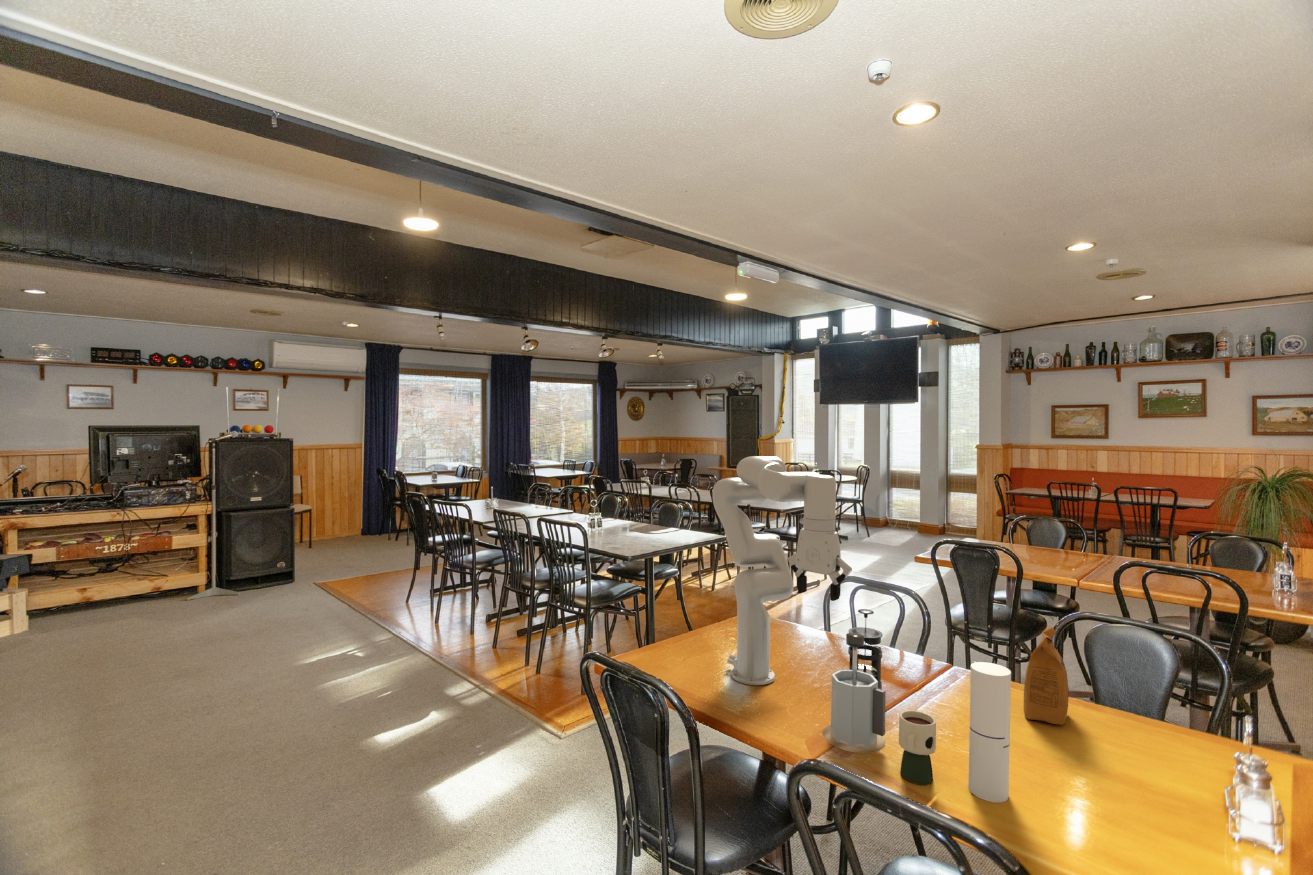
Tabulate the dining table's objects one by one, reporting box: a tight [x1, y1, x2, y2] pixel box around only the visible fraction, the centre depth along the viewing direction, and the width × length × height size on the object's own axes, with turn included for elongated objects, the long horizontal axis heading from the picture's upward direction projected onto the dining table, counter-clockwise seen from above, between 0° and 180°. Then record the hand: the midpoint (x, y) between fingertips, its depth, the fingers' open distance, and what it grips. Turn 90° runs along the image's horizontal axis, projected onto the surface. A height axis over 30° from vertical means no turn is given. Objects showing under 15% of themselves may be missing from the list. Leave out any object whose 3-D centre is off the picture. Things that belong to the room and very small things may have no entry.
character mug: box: [898, 709, 937, 786], centre depth 128 cm, size 11×7×13 cm, turn 143°
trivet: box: [822, 724, 886, 754], centre depth 145 cm, size 14×14×1 cm
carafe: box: [830, 669, 886, 748], centre depth 144 cm, size 12×10×14 cm
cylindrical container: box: [967, 661, 1012, 804], centre depth 124 cm, size 7×7×25 cm
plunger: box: [840, 632, 869, 685], centre depth 144 cm, size 7×7×12 cm
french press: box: [847, 608, 884, 690], centre depth 171 cm, size 12×9×23 cm
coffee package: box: [1023, 626, 1070, 726], centre depth 158 cm, size 10×12×22 cm
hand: (818, 595), depth 151 cm, fingers open, 8 cm apart
